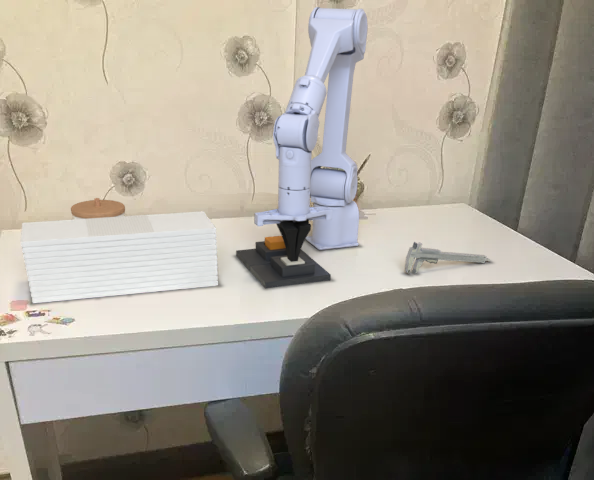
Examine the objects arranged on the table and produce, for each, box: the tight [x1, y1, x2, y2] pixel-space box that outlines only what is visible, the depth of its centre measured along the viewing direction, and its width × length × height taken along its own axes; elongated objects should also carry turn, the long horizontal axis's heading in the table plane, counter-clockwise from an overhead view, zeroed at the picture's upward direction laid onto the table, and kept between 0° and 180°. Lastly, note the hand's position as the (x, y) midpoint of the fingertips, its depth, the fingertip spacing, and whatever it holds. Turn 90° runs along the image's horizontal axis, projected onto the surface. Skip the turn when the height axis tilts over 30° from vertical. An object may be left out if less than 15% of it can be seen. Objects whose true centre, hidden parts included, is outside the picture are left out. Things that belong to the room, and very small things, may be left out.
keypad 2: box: [249, 254, 332, 289], centre depth 125 cm, size 13×9×3 cm
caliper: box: [404, 241, 491, 275], centre depth 130 cm, size 20×1×6 cm, turn 116°
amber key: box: [264, 235, 286, 250], centre depth 132 cm, size 4×4×2 cm
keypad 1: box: [235, 240, 313, 272], centre depth 132 cm, size 13×9×3 cm
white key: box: [281, 257, 305, 266], centre depth 125 cm, size 4×4×2 cm
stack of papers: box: [20, 210, 219, 304], centre depth 118 cm, size 32×11×11 cm, turn 108°
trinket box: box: [70, 197, 126, 220], centre depth 137 cm, size 11×11×9 cm
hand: (292, 259), depth 124 cm, fingers closed, pressing on white key
